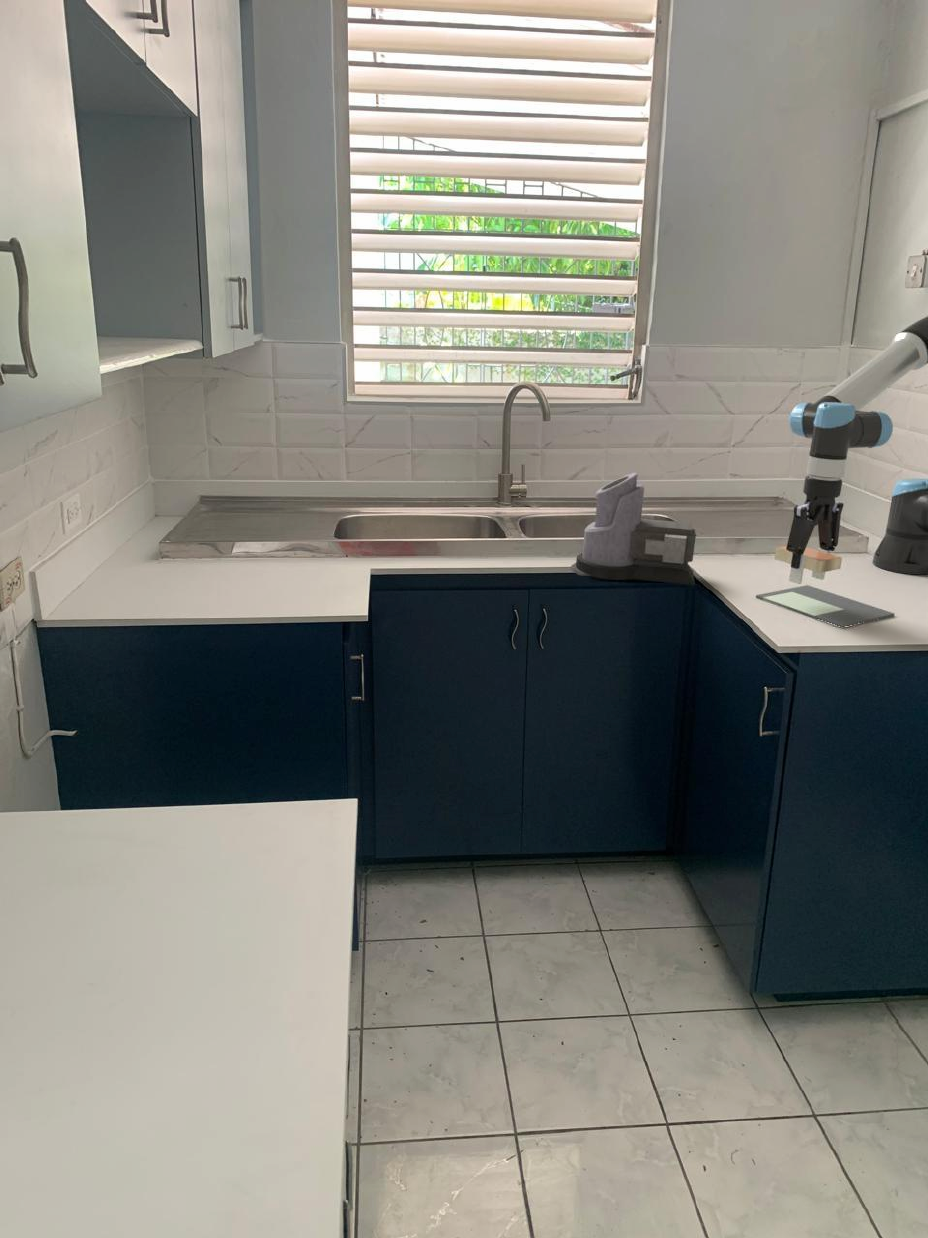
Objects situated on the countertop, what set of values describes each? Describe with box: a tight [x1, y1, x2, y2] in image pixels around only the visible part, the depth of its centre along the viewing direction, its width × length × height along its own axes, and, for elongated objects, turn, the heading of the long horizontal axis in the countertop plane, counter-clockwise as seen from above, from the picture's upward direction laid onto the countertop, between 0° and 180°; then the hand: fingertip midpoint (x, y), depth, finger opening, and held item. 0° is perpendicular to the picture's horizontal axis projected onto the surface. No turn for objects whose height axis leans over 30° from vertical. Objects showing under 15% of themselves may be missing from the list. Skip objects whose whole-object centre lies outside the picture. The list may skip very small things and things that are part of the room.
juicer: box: [570, 472, 697, 586], centre depth 225 cm, size 30×16×24 cm, turn 79°
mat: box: [755, 584, 895, 627], centre depth 208 cm, size 18×23×1 cm
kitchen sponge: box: [774, 545, 843, 573], centre depth 205 cm, size 7×3×12 cm
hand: (806, 579), depth 206 cm, fingers closed on kitchen sponge, 7 cm apart
